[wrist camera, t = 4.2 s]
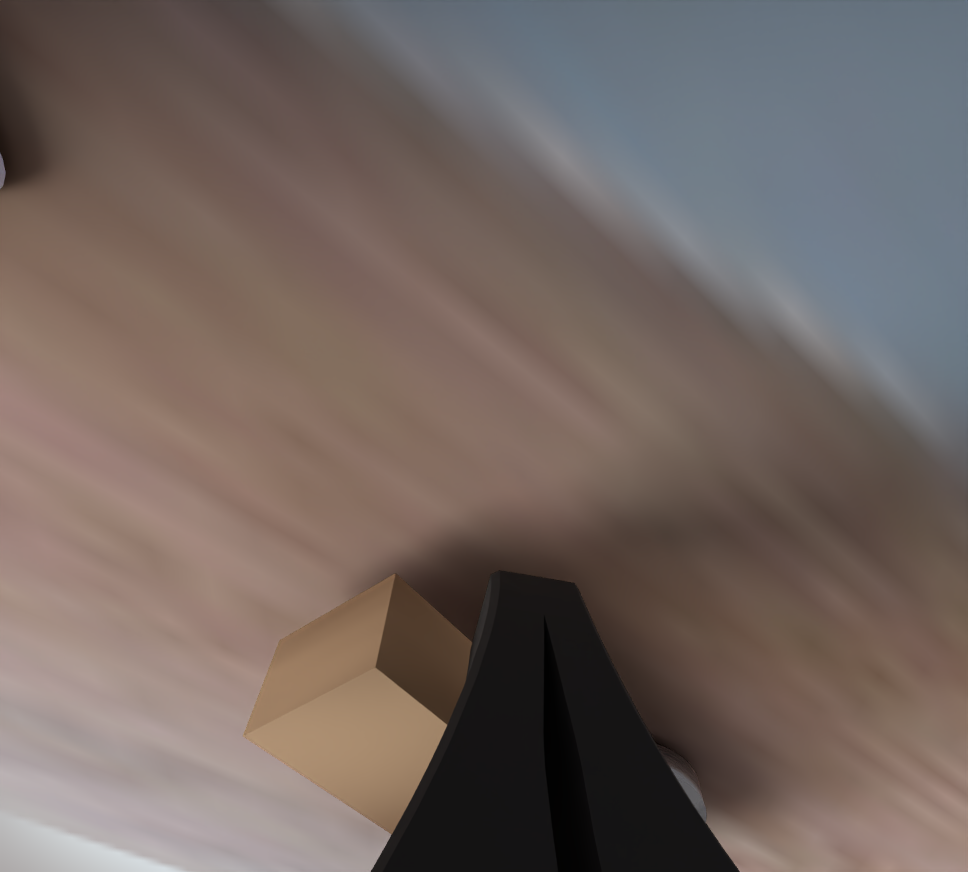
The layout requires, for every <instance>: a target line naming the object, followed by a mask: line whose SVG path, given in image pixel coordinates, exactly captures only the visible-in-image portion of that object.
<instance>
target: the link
mask: <svg viewBox="0 0 968 872" xmlns="http://www.w3.org/2000/svg"><path fill="white" fill-rule="evenodd" d="M471 646H472V642H471V641H470V640H469V639H468V638H467V637H466V636H464V635H463V634H462V633H461V632H460V631H459V630H458V629H457V628H456V627H455V626H453V625H452V624H451V623H450V622H449V621H448V620H447V619H446V618H445V617H443V616H442V615H441V614H440V613H439V612H438V611H437V610H436V609H435V608H433V607H432V606H431V605H430V604H429V603H428V602H427V601H426V600H425V599H424V598H422V597H421V596H420V595H419V594H418V593H417V592H416V591H415V590H414V589H412V588H411V587H410V586H409V585H408V584H407V583H406V582H405V581H404V580H403V579H401V578H400V577H399V576H398V575H397V574H396V573H395V574H393V575H392V576H390V577H388V578H386V579H385V580H383V581H381V582H380V583H378V584H376V585H374V586H373V587H371V588H369V589H368V590H366V591H364V592H362V593H361V594H359V595H357V596H355V597H354V598H352V599H350V600H349V601H347V602H345V603H343V604H342V605H340V606H338V607H336V608H335V609H333V610H331V611H330V612H328V613H326V614H324V615H323V616H321V617H319V618H318V619H316V620H314V621H312V622H311V623H309V624H307V625H305V626H304V627H302V628H300V629H299V630H297V631H295V632H293V633H292V634H290V635H288V636H287V637H285V638H283V639H281V640H280V641H279V643H278V646H277V649H276V651H275V654H274V656H273V659H272V662H271V664H270V667H269V669H268V672H267V675H266V677H265V680H264V682H263V685H262V688H261V690H260V693H259V695H258V698H257V701H256V703H255V706H254V708H253V711H252V714H251V716H250V719H249V721H248V724H247V727H246V729H245V732H244V734H243V737H245V738H246V739H248V740H249V741H251V742H252V743H254V744H255V745H257V746H258V747H260V748H261V749H263V750H264V751H266V752H267V753H269V754H270V755H272V756H273V757H275V758H277V759H278V760H280V761H281V762H283V763H284V764H286V765H287V766H289V767H290V768H292V769H293V770H295V771H296V772H298V773H299V774H301V775H302V776H304V777H305V778H307V779H308V780H310V781H311V782H313V783H315V784H316V785H318V786H319V787H321V788H322V789H324V790H325V791H327V792H328V793H330V794H331V795H333V796H334V797H336V798H337V799H339V800H340V801H342V802H343V803H345V804H346V805H348V806H349V807H351V808H353V809H354V810H356V811H357V812H359V813H360V814H362V815H363V816H365V817H366V818H368V819H369V820H371V821H372V822H374V823H375V824H377V825H378V826H380V827H381V828H383V829H384V830H386V831H388V832H389V833H391V834H392V833H393V831H394V830H395V828H396V826H397V824H398V822H399V821H400V819H401V817H402V815H403V813H404V811H405V810H406V808H407V806H408V804H409V802H410V800H411V799H412V797H413V795H414V793H415V791H416V789H417V787H418V785H419V783H420V781H421V779H422V777H423V775H424V773H425V771H426V769H427V767H428V765H429V763H430V761H431V759H432V757H433V755H434V753H435V751H436V749H437V746H438V744H439V742H440V740H441V738H442V736H443V734H444V731H445V729H446V727H447V724H448V722H449V720H450V717H451V715H452V713H453V710H454V708H455V706H456V703H457V701H458V699H459V696H460V694H461V692H462V689H463V687H464V684H465V682H466V676H467V671H468V664H469V656H470V649H471Z"/></svg>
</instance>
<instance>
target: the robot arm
mask: <svg viewBox="0 0 968 872" xmlns="http://www.w3.org/2000/svg"><path fill="white" fill-rule="evenodd" d="M5 174H6V172H5V168H4V163H3V159H2V156H1V153H0V189H1V188H2V187H3V185H4V180H5ZM371 872H740V871H739V870H738V868H737V867H736V866H735V864H734V863H733V861H732V860H731V859H730V857H729V856H728V854H727V853H726V852H725V850H724V849H723V848H722V846H721V845H720V843H719V842H718V840H717V839H716V837H715V836H714V834H713V833H712V831H711V830H710V828H709V827H708V826H707V824H706V823H705V821H704V820H703V818H702V817H701V815H700V814H699V812H698V811H697V809H696V808H695V806H694V805H693V803H692V802H691V800H690V799H689V797H688V795H687V794H686V792H685V791H684V789H683V788H682V786H681V784H680V783H679V781H678V780H677V778H676V776H675V775H674V773H673V772H672V770H671V768H670V766H669V765H668V763H667V761H666V760H665V758H664V756H663V755H662V753H661V751H660V750H659V748H658V746H657V745H656V743H655V741H654V740H653V738H652V736H651V734H650V733H649V731H648V729H647V727H646V725H645V724H644V722H643V720H642V718H641V717H640V715H639V713H638V711H637V709H636V707H635V705H634V703H633V701H632V700H631V698H630V696H629V694H628V692H627V690H626V688H625V686H624V685H623V683H622V681H621V679H620V677H619V675H618V673H617V671H616V669H615V667H614V665H613V663H612V661H611V659H610V657H609V655H608V653H607V651H606V649H605V647H604V644H603V642H602V640H601V638H600V636H599V634H598V632H597V630H596V627H595V625H594V623H593V621H592V619H591V616H590V614H589V612H588V610H587V607H586V605H585V603H584V600H583V598H582V596H581V593H580V591H579V589H578V588H577V586H576V585H575V583H571V582H565V581H559V580H554V579H548V578H542V577H536V576H530V575H524V574H518V573H512V572H506V571H500V570H499V571H497V572H495V573H493V574H491V576H490V579H489V583H488V587H487V590H486V594H485V598H484V601H483V605H482V609H481V613H480V616H479V620H478V624H477V627H476V631H475V635H474V638H473V642H472V646H471V649H470V656H469V664H468V671H467V676H466V682H465V684H464V687H463V689H462V692H461V694H460V696H459V699H458V701H457V703H456V706H455V708H454V710H453V713H452V715H451V717H450V720H449V722H448V724H447V727H446V729H445V731H444V734H443V736H442V738H441V740H440V742H439V744H438V746H437V749H436V751H435V753H434V755H433V757H432V759H431V761H430V763H429V765H428V767H427V769H426V771H425V773H424V775H423V777H422V779H421V781H420V783H419V785H418V787H417V789H416V791H415V793H414V795H413V797H412V799H411V800H410V802H409V804H408V806H407V808H406V810H405V811H404V813H403V815H402V817H401V819H400V821H399V822H398V824H397V826H396V828H395V830H394V831H393V833H392V835H391V837H390V839H389V841H388V842H387V844H386V846H385V848H384V850H383V851H382V853H381V855H380V857H379V858H378V860H377V862H376V864H375V865H374V867H373V869H372V870H371Z"/></svg>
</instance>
